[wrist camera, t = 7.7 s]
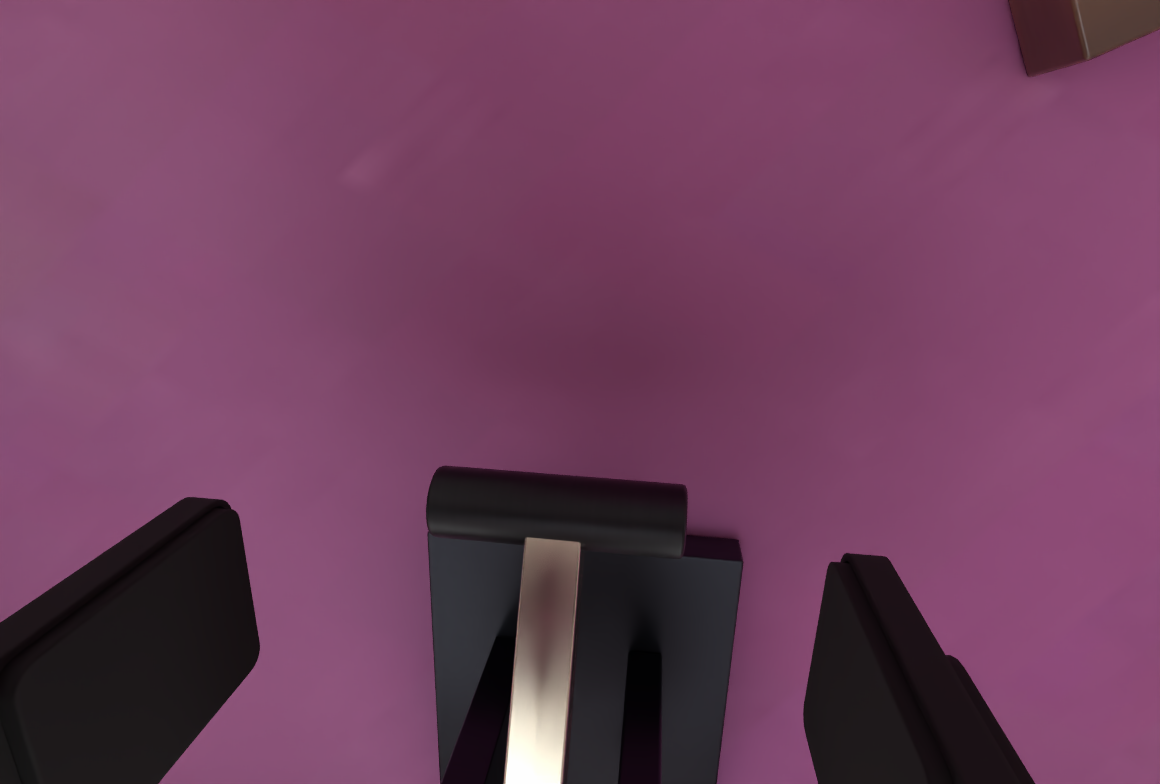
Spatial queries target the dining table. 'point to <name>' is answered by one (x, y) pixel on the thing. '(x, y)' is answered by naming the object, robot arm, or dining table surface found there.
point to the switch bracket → (591, 661)
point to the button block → (1078, 29)
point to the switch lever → (552, 579)
